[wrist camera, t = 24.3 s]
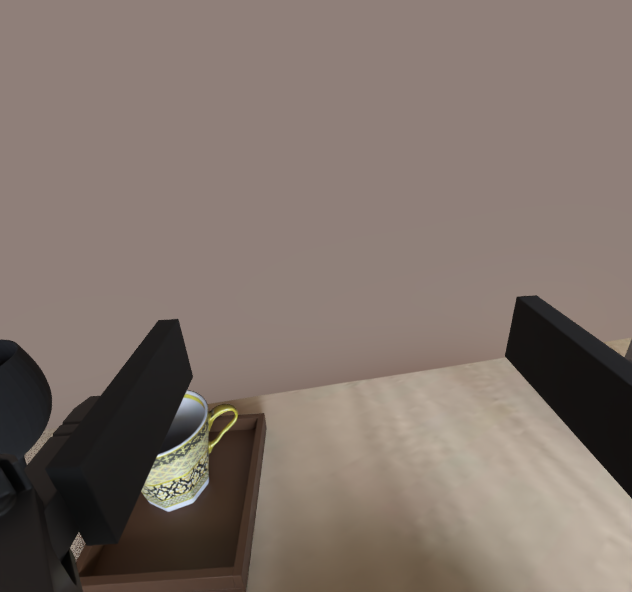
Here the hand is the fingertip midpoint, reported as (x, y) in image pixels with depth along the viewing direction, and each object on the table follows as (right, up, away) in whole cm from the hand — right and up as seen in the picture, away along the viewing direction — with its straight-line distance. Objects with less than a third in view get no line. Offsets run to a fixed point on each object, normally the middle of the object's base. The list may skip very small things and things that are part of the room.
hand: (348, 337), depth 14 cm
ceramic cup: (-16, -20, +28) cm, 38 cm away
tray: (-16, -22, +27) cm, 38 cm away
